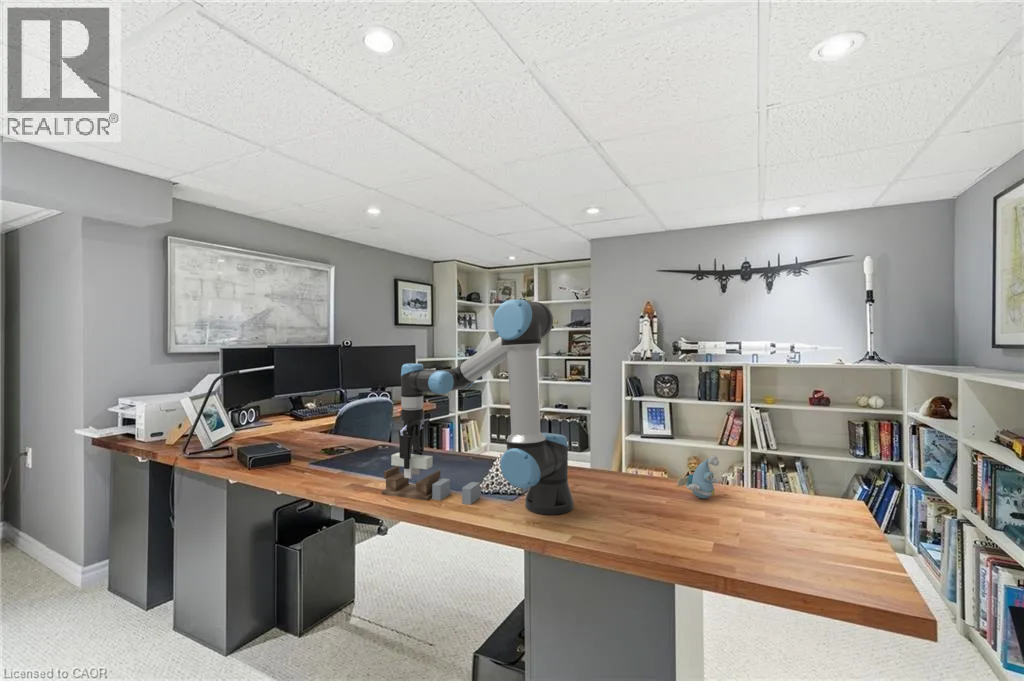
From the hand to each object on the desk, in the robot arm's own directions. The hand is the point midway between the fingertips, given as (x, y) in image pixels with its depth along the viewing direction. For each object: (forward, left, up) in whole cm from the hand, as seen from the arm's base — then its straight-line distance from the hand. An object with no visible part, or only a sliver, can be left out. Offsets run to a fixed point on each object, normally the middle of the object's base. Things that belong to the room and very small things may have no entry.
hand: (411, 475), depth 162 cm
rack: (0, 0, -6) cm, 6 cm away
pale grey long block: (0, 0, +3) cm, 3 cm away
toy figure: (-94, -30, -6) cm, 99 cm away
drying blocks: (-17, 0, -6) cm, 18 cm away
